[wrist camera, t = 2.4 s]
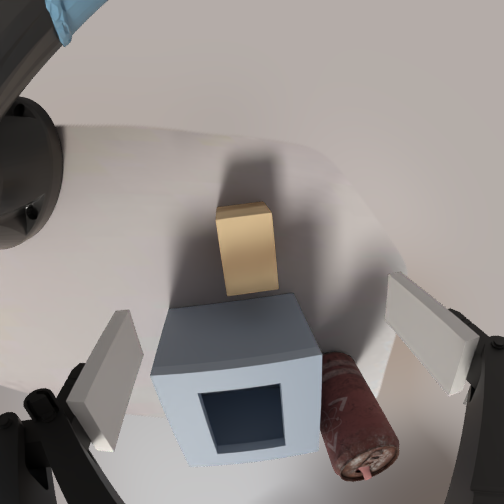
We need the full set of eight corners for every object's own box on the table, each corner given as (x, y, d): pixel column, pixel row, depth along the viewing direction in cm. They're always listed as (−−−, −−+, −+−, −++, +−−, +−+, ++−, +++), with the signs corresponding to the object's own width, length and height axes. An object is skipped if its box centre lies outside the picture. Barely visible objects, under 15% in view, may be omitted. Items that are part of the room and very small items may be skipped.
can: (311, 398, 35) (343, 492, 22) (295, 363, 33) (330, 465, 20) (357, 378, 35) (404, 465, 22) (347, 341, 33) (401, 434, 20)
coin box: (168, 309, 30) (149, 375, 20) (293, 292, 30) (322, 354, 21) (194, 398, 33) (189, 466, 24) (297, 384, 34) (318, 451, 25)
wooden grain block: (216, 207, 27) (215, 219, 22) (263, 201, 27) (271, 212, 23) (226, 271, 29) (227, 296, 24) (269, 266, 29) (278, 289, 25)
